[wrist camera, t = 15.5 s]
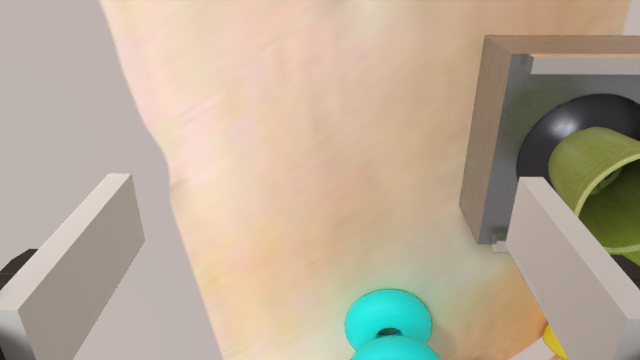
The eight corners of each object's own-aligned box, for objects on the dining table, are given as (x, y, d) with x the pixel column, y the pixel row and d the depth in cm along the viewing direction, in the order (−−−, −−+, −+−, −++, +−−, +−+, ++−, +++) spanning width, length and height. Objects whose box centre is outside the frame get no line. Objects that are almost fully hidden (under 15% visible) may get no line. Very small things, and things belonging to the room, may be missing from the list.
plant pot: (503, 188, 40) (543, 249, 32) (569, 87, 36) (634, 128, 28) (597, 224, 42) (657, 290, 34) (671, 130, 37) (759, 181, 30)
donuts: (412, 432, 51) (328, 401, 49) (400, 358, 60) (329, 329, 58) (467, 375, 47) (378, 339, 45) (446, 304, 55) (371, 271, 54)
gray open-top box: (485, 35, 41) (517, 57, 34) (660, 35, 41) (731, 57, 34) (455, 229, 51) (476, 279, 43) (598, 230, 50) (644, 281, 43)
